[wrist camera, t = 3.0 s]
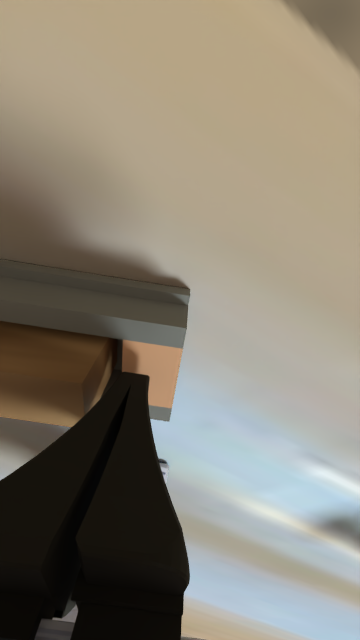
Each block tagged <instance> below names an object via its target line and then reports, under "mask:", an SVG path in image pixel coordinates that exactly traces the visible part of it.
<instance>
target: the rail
mask: <svg viewBox="0 0 360 640" xmlns="http://www.w3.org/2000/svg"><path fill="white" fill-rule="evenodd" d="M189 298H190V289H186V288H179V287H173V286H167V285H160V284H154V283H148V282H141V281H135V280H129V279H122V278H116V277H110V276H103V275H97V274H91V273H84V272H78V271H72V270H65V269H59V268H53V267H46V266H40V265H34V264H28V263H21V262H15V261H9V260H2V259H0V321H5V322H12V323H18V324H25V325H31V326H38V327H44V328H51V329H57V330H64V331H70V332H77V333H83V334H90V335H96V336H103V337H109V338H116V339H117V363H116V365H115V367H114V370H113V372H112V374H111V376H110V378H109V380H108V383H107V385H106V387H105V389H104V391H103V393H102V395H101V398H102V396H103V395H104V394H105V393H106V392H107V391H108V390H109V388H110V387H111V386H112V385H113V384H114V382H115V381H116V380H117V378H118V377H119V376H120V374H121V373H122V372H131V373H137V374H144V375H148V376H149V377H150V381H149V390H148V404H149V414H150V419H155V420H162V421H169V420H170V415H171V409H172V404H173V399H174V393H175V388H176V383H177V377H178V372H179V367H180V361H181V356H182V350H183V345H184V340H185V334H186V329H187V315H188V303H189ZM101 398H100V399H101Z"/></svg>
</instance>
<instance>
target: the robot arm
mask: <svg viewBox="0 0 360 640" xmlns="http://www.w3.org/2000/svg"><path fill="white" fill-rule="evenodd" d="M149 381H150V377H149V376H148V375H144V374H137V373H131V372H122V373H121V374H120V376H119V377H118V378H117V380H116V381H115V382H114V384H113V385H112V386H111V387H110V388H109V390H108V391H107V392H106V393H105V394H104V395H103V396H102V398H101V399H100V400H99V401H98V402H97V403H96V404H95V405H94V406H93V407H92V408H91V409H90V410H89V411H88V412H87V413H86V414H85V415H84V416H83V417H82V418H81V419H80V420H79V421H78V422H77V423H76V424H75V425H74V426H72V427H71V428H70V429H69V430H68V431H67V432H66V433H64V434H63V435H62V436H61V437H60V438H58V439H57V440H56V441H55V442H54V443H52V444H51V445H50V446H49V447H47V448H46V449H45V450H43V451H42V452H41V453H39V454H38V455H37V456H35V457H34V458H33V459H31V460H30V461H28V462H27V463H26V464H24V465H23V466H21V467H20V468H18V469H17V470H16V471H14V472H13V473H11V474H10V475H8V476H7V477H5V478H4V479H2V480H1V481H0V640H204V639H197V638H189V637H181V617H182V615H183V597H184V591H185V590H186V588H187V586H188V584H189V579H190V573H189V563H188V556H187V551H186V546H185V542H184V537H183V532H182V528H181V525H180V523H179V520H178V517H177V515H176V512H175V510H174V507H173V504H172V501H171V499H170V496H169V493H168V490H167V487H166V481H167V476H168V472H169V466H168V465H167V464H163V463H159V460H158V456H157V452H156V448H155V444H154V439H153V434H152V428H151V422H150V414H149V404H148V390H149Z"/></svg>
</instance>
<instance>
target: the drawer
mask: <svg viewBox="0 0 360 640" xmlns="http://www.w3.org/2000/svg"><path fill="white" fill-rule="evenodd" d="M116 363H117V339H116V338H109V337H103V336H96V335H90V334H83V333H77V332H70V331H64V330H57V329H51V328H44V327H38V326H31V325H25V324H18V323H12V322H5V321H0V417H5V418H12V419H19V420H26V421H33V422H40V423H47V424H53V425H60V426H67V427H72V426H74V425H75V424H76V423H77V422H78V421H79V420H80V419H81V418H82V417H83V416H84V415H85V414H86V413H87V412H88V411H89V410H90V409H91V408H92V407H93V406H94V405H95V404H96V403H97V402H98V401H99V400H100V398H101V395H102V393H103V391H104V389H105V387H106V385H107V383H108V380H109V378H110V376H111V374H112V372H113V370H114V367H115V365H116Z"/></svg>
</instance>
